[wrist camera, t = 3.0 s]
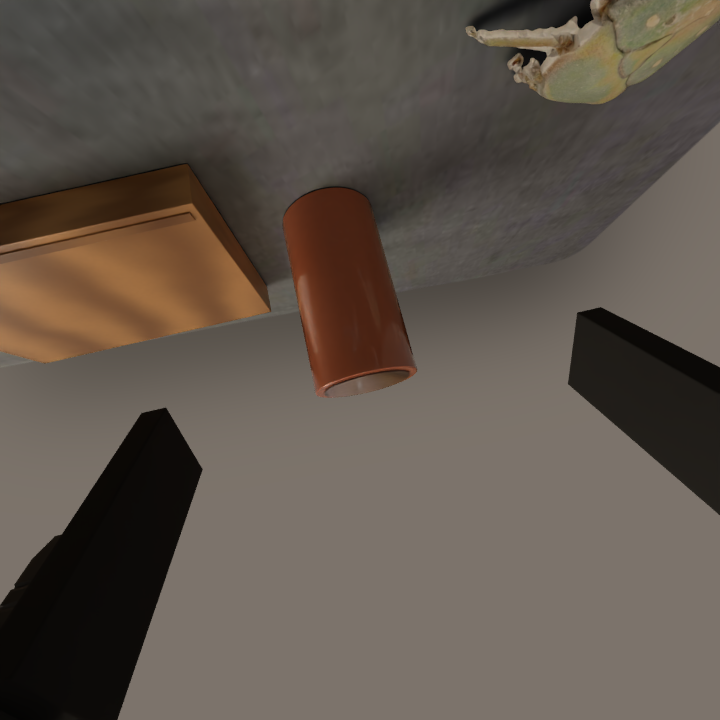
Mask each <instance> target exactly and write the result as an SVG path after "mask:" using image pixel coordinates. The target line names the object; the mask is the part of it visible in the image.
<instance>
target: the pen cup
mask: <svg viewBox="0 0 720 720" xmlns="http://www.w3.org/2000/svg"><path fill="white" fill-rule="evenodd" d="M283 231H284V236H285V241H286V246H287V251H288V256H289V261H290V266H291V272H292V277H293V282H294V287H295V292H296V297H297V302H298V307H299V312H300V317H301V322H302V327H303V332H304V337H305V342H306V347H307V352H308V357H309V362H310V367H311V372H312V377H313V382H314V387H315V392H316V394H317V396H320V397H328V398H332V397H345V396H352V395H358V394H363V393H368V392H372V391H375V390H379V389H383V388H386V387H389V386H392V385H394V384H397V383H399V382H402V381H404V380H406V379H408V378H410V377H411V376H413V375H414V374H415V373H416V372H417V367H416V364H415V361H414V357H413V353H412V349H411V346H410V342H409V339H408V335H407V332H406V328H405V325H404V321H403V317H402V314H401V310H400V307H399V303H398V299H397V296H396V292H395V289H394V285H393V282H392V278H391V274H390V271H389V267H388V264H387V260H386V257H385V253H384V249H383V246H382V242H381V239H380V235H379V232H378V228H377V224H376V221H375V217H374V214H373V210H372V207H371V204H370V202H369V201H368V199H367V198H366V197H365V196H363V195H362V194H361V193H359V192H357V191H354V190H351V189H347V188H338V187H334V188H325V189H320V190H316V191H313V192H311V193H308V194H306V195H304V196H303V197H301V198H299V199H298V200H297V201H295V202H294V203H293V204H292V205H291V206H290V207H289V209H288V210H287V211H286V213H285V215H284V219H283Z"/></svg>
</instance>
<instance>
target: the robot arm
mask: <svg viewBox="0 0 720 720" xmlns="http://www.w3.org/2000/svg"><path fill="white" fill-rule="evenodd" d="M568 384H569V385H570V386H571V387H572V388H573V389H574V390H576V391H577V392H578V393H579V394H580V395H581V396H583V397H584V398H585V399H586V400H587V401H588V402H589V403H591V404H592V405H593V406H594V407H595V408H596V409H598V410H599V411H600V412H601V413H602V414H603V415H604V416H606V417H607V418H608V419H609V420H610V421H612V422H613V423H614V424H615V425H616V426H617V427H618V428H620V429H621V430H622V431H623V432H624V433H626V434H627V435H628V436H629V437H630V438H631V439H632V440H633V441H635V442H636V443H637V444H638V445H639V446H640V447H642V448H643V449H644V450H645V451H646V452H647V453H648V454H650V455H651V456H652V457H653V458H654V459H655V460H657V461H658V462H659V463H660V464H661V465H663V466H664V467H665V468H666V469H667V470H668V471H669V472H671V473H672V474H673V475H674V476H675V477H676V478H677V479H679V480H680V481H681V482H682V483H683V484H684V485H685V486H687V487H688V488H689V489H690V490H691V491H692V492H694V493H695V494H696V495H697V496H698V497H699V498H701V499H702V500H703V501H704V502H705V503H706V504H707V505H709V506H710V507H711V508H712V509H713V510H715V511H716V512H717V513H718V514H719V515H720V367H718V366H716V365H714V364H712V363H710V362H708V361H706V360H704V359H702V358H700V357H698V356H696V355H694V354H692V353H690V352H688V351H686V350H684V349H682V348H681V347H679V346H676V345H675V344H673V343H671V342H669V341H667V340H665V339H663V338H661V337H659V336H657V335H654V334H653V333H651V332H649V331H647V330H645V329H643V328H641V327H639V326H637V325H635V324H633V323H631V322H629V321H627V320H625V319H623V318H621V317H619V316H617V315H615V314H613V313H611V312H609V311H607V310H605V309H603V308H601V307H600V308H596V309H591V310H587V311H583V312H578V313H577V319H576V327H575V335H574V343H573V350H572V357H571V365H570V374H569V381H568ZM201 472H202V468H201V466H200V464H199V463H198V461H197V459H196V457H195V456H194V454H193V453H192V451H191V449H190V448H189V446H188V444H187V442H186V441H185V439H184V437H183V436H182V434H181V432H180V430H179V429H178V427H177V425H176V424H175V422H174V420H173V419H172V417H171V415H170V413H169V412H168V410H167V409H166V408H162V409H158V410H153V411H149V412H145V413H142V414H141V415H140V416H139V418H138V419H137V421H136V422H135V424H134V425H133V427H132V429H131V430H130V432H129V433H128V435H127V436H126V438H125V439H124V441H123V442H122V444H121V445H120V447H119V448H118V450H117V451H116V453H115V454H114V456H113V458H112V459H111V460H110V462H109V464H108V465H107V467H106V468H105V470H104V471H103V473H102V474H101V476H100V477H99V479H98V480H97V482H96V483H95V485H94V486H93V488H92V489H91V491H90V493H89V494H88V496H87V497H86V499H85V500H84V502H83V503H82V505H81V506H80V508H79V509H78V511H77V513H76V514H75V515H74V517H73V518H72V520H71V521H70V523H69V524H68V526H67V528H66V529H65V531H64V532H63V534H62V535H58V536H55V537H54V538H53V539H52V540H51V541H50V542H49V543H48V544H47V545H46V546H45V547H44V548H43V549H42V550H41V551H40V552H39V553H38V554H37V555H36V556H35V557H34V558H33V559H32V560H31V562H30V563H29V564H28V566H27V567H26V569H25V570H24V572H23V573H22V574H21V576H20V577H19V579H18V580H17V582H16V583H15V588H14V589H12V590H10V592H9V593H8V595H7V596H6V598H5V599H4V601H3V602H2V604H1V605H0V720H117V719H118V716H119V713H120V710H121V707H122V704H123V702H124V698H125V695H126V692H127V690H128V687H129V683H130V681H131V678H132V675H133V672H134V669H135V666H136V663H137V660H138V657H139V654H140V652H141V649H142V646H143V643H144V640H145V637H146V634H147V631H148V628H149V625H150V622H151V619H152V616H153V613H154V610H155V608H156V604H157V602H158V599H159V596H160V593H161V590H162V587H163V584H164V581H165V578H166V575H167V572H168V569H169V566H170V563H171V560H172V558H173V555H174V551H175V549H176V546H177V543H178V540H179V537H180V534H181V531H182V528H183V525H184V522H185V519H186V517H187V514H188V511H189V508H190V504H191V502H192V499H193V496H194V493H195V490H196V487H197V484H198V481H199V478H200V475H201Z"/></svg>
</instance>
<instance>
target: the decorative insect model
mask: <svg viewBox="0 0 720 720" xmlns="http://www.w3.org/2000/svg"><path fill="white" fill-rule="evenodd" d="M590 7H591V13H592V15H593V18H594V20H592V21H590V22H588V23H587V24H585V26H584V27H583V28H582V29H581V28H579V27H578V25H577V17H576V16H575V17H573V18H572V19H571V20H569V21H568V22H567V24H566V25H564V26H561V27H559V28H553V27H550V28H548V29H541V28H538V29H536V30H534V31H530V30H527V29H526V30H509V31H505V30H504V29H500V30H495V31H491V32H490V31H486V30H478V32H476V30H475V28H474V27H473V26H468V27H466V28H465V29H466V32H467V34H468V36H472V37H474V38H476V39H477V40H478V41H479V42H480V43H484V44H485V45H486V46H500V47H502V46H507V47H517V48H520V49H531V50H539V51H543V52H546V54H547V58H546V60H545V61H544V62H543V63H542V65H541V67H540V63H539V60H536V59H534V58H531V59H530V63H529V64H528V65H527V66H525V67H524V69H522V67H521V66H522V64H523V56H522V55H521V53H517V54H516V55H515V56H514V57H513V58H512V59H511V60H510V61H509V60H508V61H509V62H508V63H507V65H508V67H509V70H514V71H515V72H516V74H515V75H514V80H515V81H516V82H517V83H521V82H523V83H527V84H528V85H529V87H530V89H533V90H534V91H537V92H538V94H539V95H541V97H544V98H546V99H550V100H553V101H560V102H566V103H588V104H602V103H605V102H607V101H610V100H612V99H614V98H615V97H617V96H618V95H619V94H621V93H622V92H624V91H625V89H626V88H627V87H628V86H630V85H633V84H637V83H639V82H642V81H643V80H645V79H646V78H648V77H649V76H651V75H652V74H654V73H655V72H656V71H657V70H659V69H660V68H661V67H662V66H664V65H665V64H666V63H667V62H668V61H670V60H671V59H672V58H673V57H675V56H676V55H677V54H678V53H679V52H681V51H682V50H683V49H684V48H686V47H687V46H688V45H689V44H690V43H692V42H693V41H694V40H695V39H697V38H698V37H699V36H700V35H702V34H703V33H704V32H705V31H706V30H708V29H709V28H710V27H711V26H712V25H713V24H715V23H716V22H717V21H718V20H719V19H720V0H592V1H591V4H590Z"/></svg>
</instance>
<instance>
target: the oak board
mask: <svg viewBox="0 0 720 720" xmlns="http://www.w3.org/2000/svg"><path fill="white" fill-rule="evenodd" d="M267 312H271V307H270V302H269V296H268V290H267V286H266V285H265V283H264V282H263V280H262V279H261V277H260V275H259V274H258V272H257V271H256V269H255V268H254V266H253V265H252V263H251V262H250V260H249V258H248V257H247V255H246V254H245V252H244V251H243V249H242V248H241V246H240V244H239V243H238V241H237V240H236V238H235V237H234V235H233V234H232V232H231V231H230V229H229V227H228V226H227V224H226V223H225V221H224V220H223V218H222V217H221V215H220V214H219V212H218V210H217V209H216V207H215V206H214V204H213V203H212V201H211V200H210V198H209V197H208V195H207V193H206V192H205V190H204V189H203V187H202V186H201V184H200V183H199V181H198V180H197V178H196V176H195V175H194V173H193V172H192V170H191V169H190V167H189V166H188V164H184V165H179V166H175V167H170V168H165V169H161V170H156V171H152V172H147V173H143V174H138V175H134V176H129V177H125V178H120V179H115V180H111V181H106V182H102V183H97V184H93V185H88V186H84V187H79V188H75V189H70V190H65V191H61V192H56V193H52V194H47V195H43V196H38V197H34V198H29V199H25V200H20V201H15V202H11V203H6V204H2V205H0V351H1V352H5V353H9V354H12V355H16V356H20V357H23V358H27V359H31V360H34V361H38V362H42V363H49V362H54V361H58V360H62V359H66V358H71V357H75V356H80V355H84V354H88V353H93V352H97V351H102V350H106V349H110V348H115V347H119V346H123V345H128V344H132V343H137V342H141V341H145V340H150V339H154V338H158V337H163V336H167V335H171V334H176V333H180V332H185V331H189V330H193V329H198V328H202V327H206V326H211V325H215V324H219V323H224V322H228V321H233V320H237V319H241V318H246V317H250V316H254V315H259V314H263V313H267Z"/></svg>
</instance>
